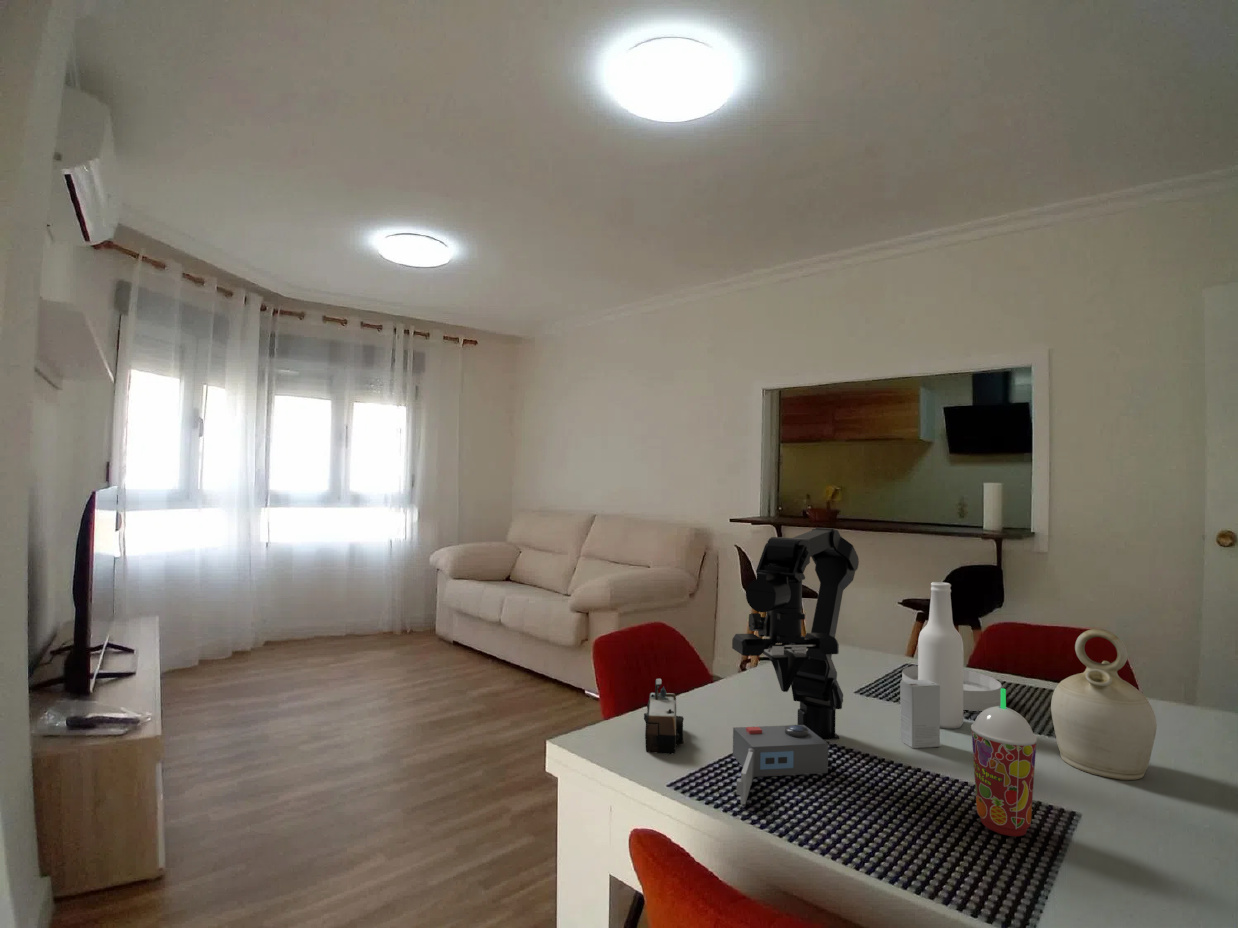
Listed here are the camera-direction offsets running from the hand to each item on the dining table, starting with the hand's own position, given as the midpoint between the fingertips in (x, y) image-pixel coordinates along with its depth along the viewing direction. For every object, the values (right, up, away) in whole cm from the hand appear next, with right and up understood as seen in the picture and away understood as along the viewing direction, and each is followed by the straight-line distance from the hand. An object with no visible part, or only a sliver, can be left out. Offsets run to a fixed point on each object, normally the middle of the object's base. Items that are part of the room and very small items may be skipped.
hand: (784, 691), depth 116 cm
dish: (+51, -16, +39) cm, 67 cm away
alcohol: (+39, -15, +21) cm, 47 cm away
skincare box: (+29, -14, +8) cm, 33 cm away
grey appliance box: (-2, -12, -3) cm, 12 cm away
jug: (+58, -14, 0) cm, 60 cm away
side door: (-10, -11, -14) cm, 20 cm away
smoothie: (+26, -12, -23) cm, 37 cm away
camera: (-22, -12, +7) cm, 26 cm away
